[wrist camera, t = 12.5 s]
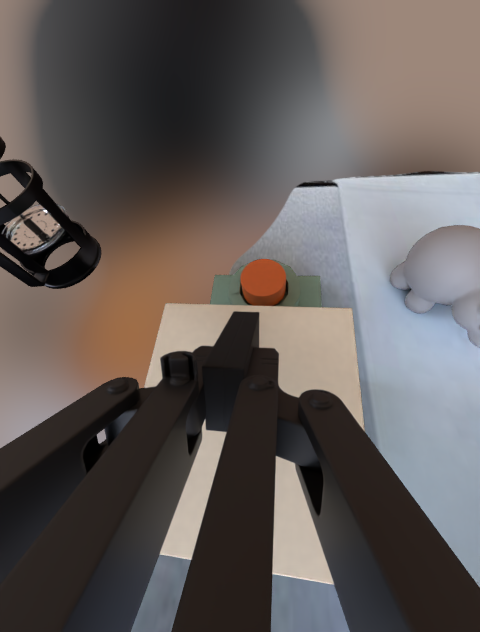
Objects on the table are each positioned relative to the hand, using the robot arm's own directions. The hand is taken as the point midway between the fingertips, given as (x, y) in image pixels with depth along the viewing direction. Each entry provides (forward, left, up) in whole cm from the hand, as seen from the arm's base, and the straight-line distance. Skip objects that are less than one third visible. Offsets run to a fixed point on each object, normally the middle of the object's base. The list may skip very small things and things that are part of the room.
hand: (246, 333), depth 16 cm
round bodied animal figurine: (+18, +9, -13) cm, 24 cm away
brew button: (0, +9, -9) cm, 13 cm away
